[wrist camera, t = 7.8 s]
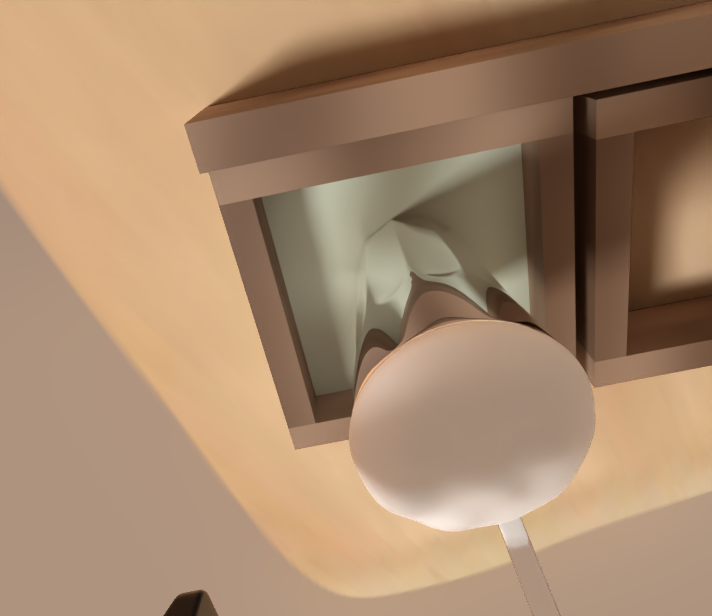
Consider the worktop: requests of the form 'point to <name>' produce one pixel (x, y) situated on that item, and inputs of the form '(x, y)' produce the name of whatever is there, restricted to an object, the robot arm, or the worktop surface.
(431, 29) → the worktop surface
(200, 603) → the robot arm
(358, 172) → the divided wooden tray
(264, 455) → the worktop surface
